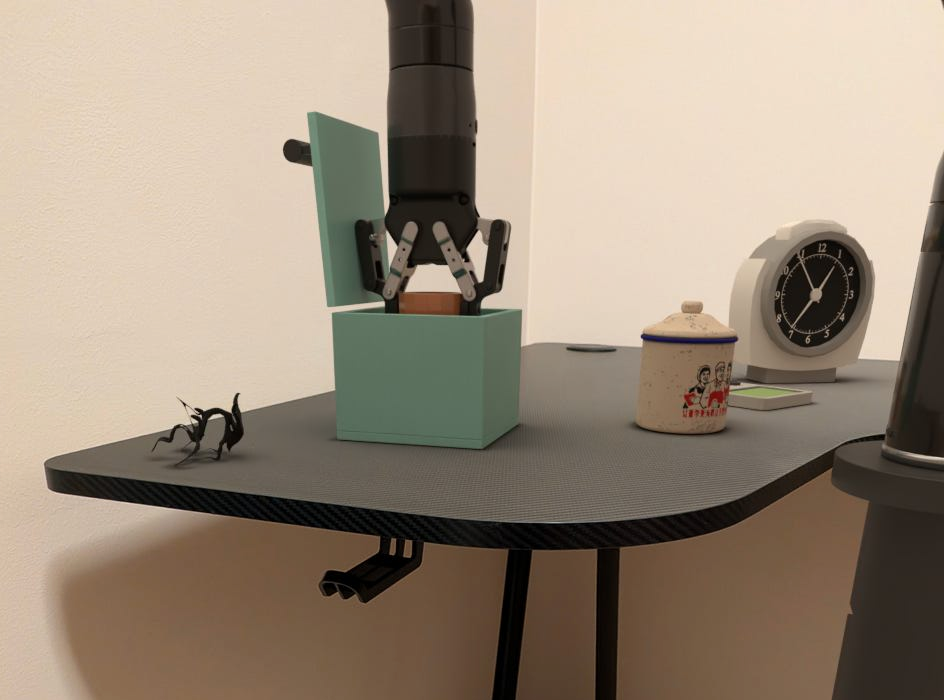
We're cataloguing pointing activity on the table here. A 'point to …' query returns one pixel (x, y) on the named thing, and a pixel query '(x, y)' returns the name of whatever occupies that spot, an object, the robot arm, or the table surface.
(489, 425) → the box
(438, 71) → the robot arm
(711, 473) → the table surface
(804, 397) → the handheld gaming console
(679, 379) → the teacup with lid
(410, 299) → the cup
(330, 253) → the lid
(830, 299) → the alarm clock
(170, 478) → the table surface
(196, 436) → the creature
